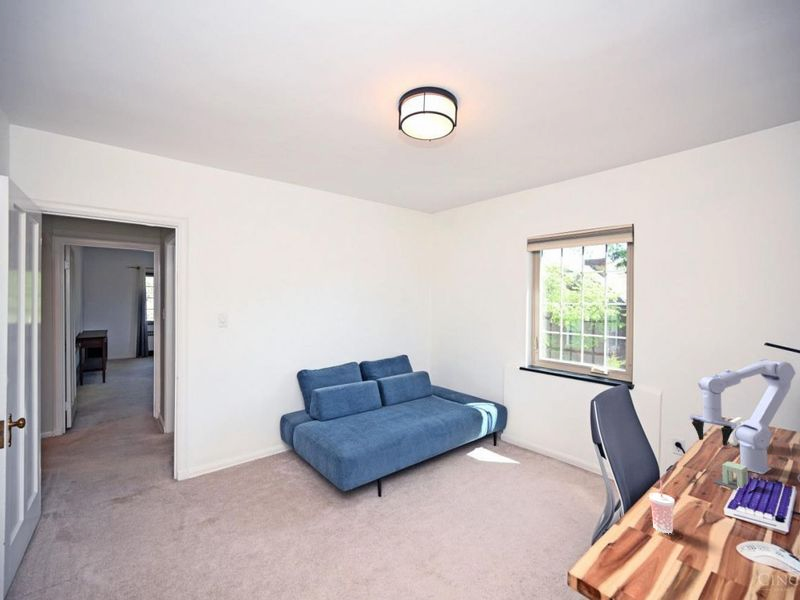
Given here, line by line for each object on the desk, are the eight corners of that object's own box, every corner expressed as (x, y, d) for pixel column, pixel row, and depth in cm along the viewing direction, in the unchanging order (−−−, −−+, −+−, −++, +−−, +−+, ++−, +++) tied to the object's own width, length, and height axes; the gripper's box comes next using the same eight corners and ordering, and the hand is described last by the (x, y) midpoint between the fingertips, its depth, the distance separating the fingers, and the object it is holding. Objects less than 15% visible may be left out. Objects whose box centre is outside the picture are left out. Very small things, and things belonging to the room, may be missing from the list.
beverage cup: (667, 537, 105) (665, 486, 106) (645, 526, 111) (643, 478, 111) (680, 532, 108) (678, 482, 108) (658, 521, 113) (657, 474, 114)
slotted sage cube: (728, 478, 140) (728, 461, 140) (748, 484, 135) (747, 466, 135) (722, 482, 137) (722, 464, 137) (742, 488, 132) (741, 469, 133)
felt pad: (724, 476, 143) (724, 475, 143) (759, 486, 134) (759, 485, 134) (712, 482, 138) (712, 481, 138) (748, 493, 129) (748, 492, 129)
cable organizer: (758, 453, 164) (757, 426, 165) (727, 446, 173) (726, 420, 174) (769, 446, 172) (768, 420, 173) (739, 440, 181) (738, 415, 182)
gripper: (686, 405, 154) (686, 438, 154) (731, 413, 142) (732, 449, 141) (693, 403, 158) (694, 435, 157) (738, 410, 145) (739, 446, 145)
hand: (712, 442), depth 150 cm, fingers open, 7 cm apart
